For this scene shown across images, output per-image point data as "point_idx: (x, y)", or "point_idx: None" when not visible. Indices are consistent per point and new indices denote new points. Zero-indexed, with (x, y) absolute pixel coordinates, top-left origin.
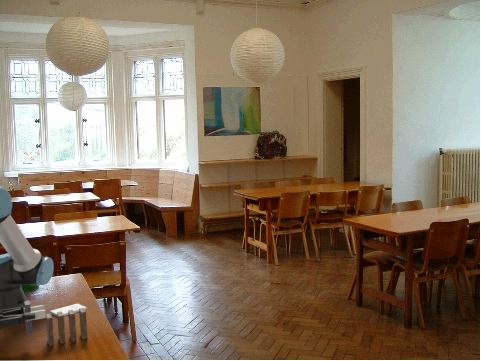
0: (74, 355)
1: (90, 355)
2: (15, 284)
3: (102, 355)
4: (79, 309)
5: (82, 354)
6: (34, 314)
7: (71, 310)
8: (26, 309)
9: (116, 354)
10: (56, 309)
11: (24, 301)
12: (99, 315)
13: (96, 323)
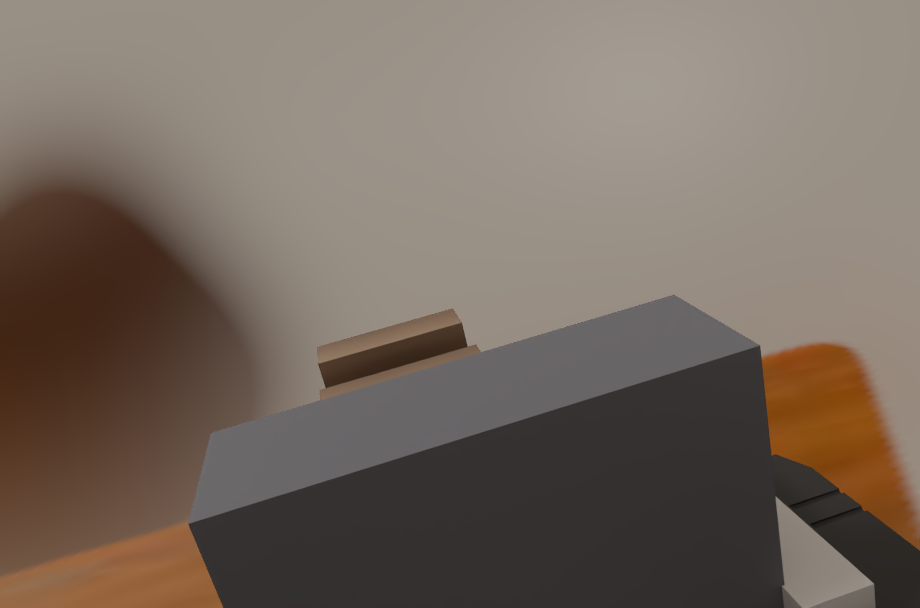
0: (898, 529)
1: (871, 443)
2: None
3: (855, 394)
4: (348, 357)
5: (861, 487)
6: (772, 462)
7: (350, 388)
8: (759, 475)
9: (824, 351)
10: None
11: (240, 503)
12: (8, 578)
13: (181, 557)
